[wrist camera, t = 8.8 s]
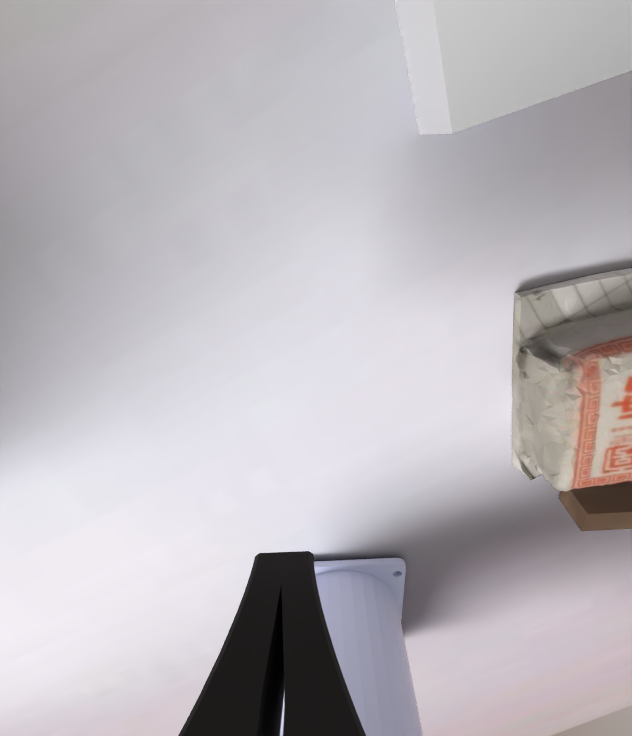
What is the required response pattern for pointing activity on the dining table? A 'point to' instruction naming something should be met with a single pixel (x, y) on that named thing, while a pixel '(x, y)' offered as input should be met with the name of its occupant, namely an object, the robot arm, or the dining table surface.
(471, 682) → the dining table surface
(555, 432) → the packaged product
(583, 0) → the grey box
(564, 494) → the open wooden frame
